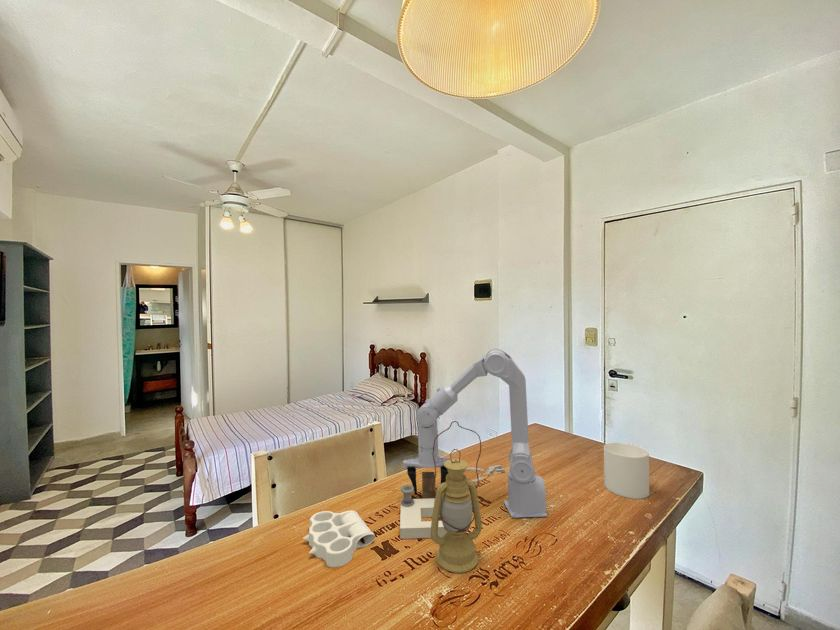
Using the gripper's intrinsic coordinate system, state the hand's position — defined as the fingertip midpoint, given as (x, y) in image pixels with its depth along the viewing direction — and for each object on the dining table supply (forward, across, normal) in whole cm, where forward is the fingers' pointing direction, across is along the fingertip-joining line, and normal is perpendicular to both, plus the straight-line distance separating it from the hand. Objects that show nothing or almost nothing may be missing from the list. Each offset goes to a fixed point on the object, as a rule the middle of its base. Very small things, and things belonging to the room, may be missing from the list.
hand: (428, 492), depth 100 cm
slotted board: (+2, +2, +11) cm, 11 cm away
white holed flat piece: (+3, +23, +17) cm, 29 cm away
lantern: (+2, -5, +24) cm, 25 cm away
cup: (+2, -60, -2) cm, 60 cm away
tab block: (+2, 0, 0) cm, 2 cm away
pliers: (+2, -19, -15) cm, 24 cm away
